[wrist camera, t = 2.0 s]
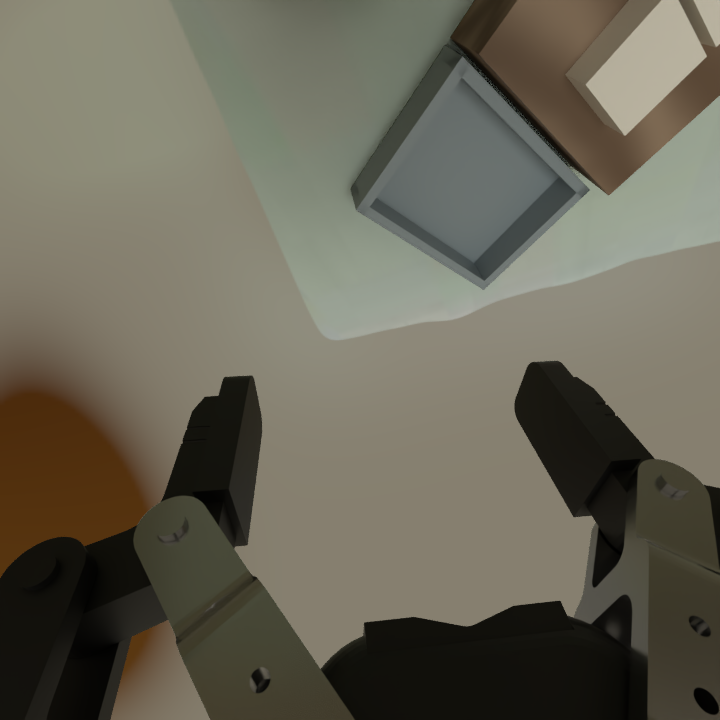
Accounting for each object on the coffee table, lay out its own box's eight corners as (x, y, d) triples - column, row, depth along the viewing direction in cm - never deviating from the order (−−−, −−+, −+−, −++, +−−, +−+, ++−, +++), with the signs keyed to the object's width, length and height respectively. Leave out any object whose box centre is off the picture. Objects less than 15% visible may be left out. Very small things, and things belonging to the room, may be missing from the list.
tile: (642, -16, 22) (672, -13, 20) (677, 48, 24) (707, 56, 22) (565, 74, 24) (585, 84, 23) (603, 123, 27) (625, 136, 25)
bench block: (688, -325, 18) (803, -401, 14) (778, -42, 26) (867, -39, 22) (450, 37, 27) (478, 54, 23) (571, 166, 35) (608, 195, 31)
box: (445, 45, 27) (462, 56, 25) (566, 171, 35) (589, 190, 32) (350, 188, 34) (356, 210, 31) (470, 267, 42) (483, 289, 39)
